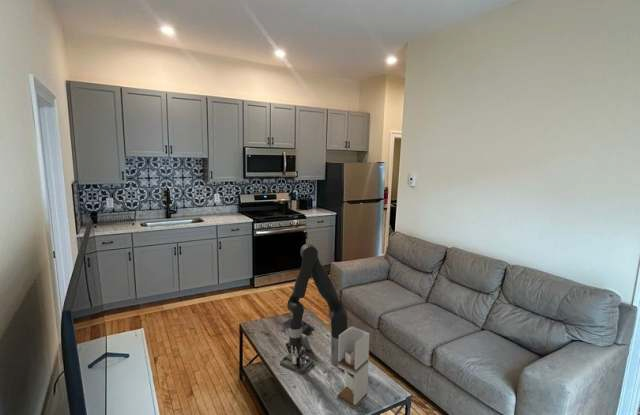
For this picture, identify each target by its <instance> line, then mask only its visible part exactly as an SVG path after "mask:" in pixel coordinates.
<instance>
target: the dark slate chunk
mask: <svg viewBox="0 0 640 415" xmlns="http://www.w3.org/2000/svg"><path fill="white" fill-rule="evenodd" d="M289 320H290V318H289V319H287V320H285V321H284V322H283V323H282V324H283V326H284V327H285V328H286V329H287V330H288V329H289ZM314 330H315V327H313V326H312V325H310V324H309V323H307V322H305V320H303V319H302V334H304V335H306V334H309V333H311V332H313V331H314Z"/></svg>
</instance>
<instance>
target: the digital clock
mask: <svg viewBox="0 0 640 415" xmlns="http://www.w3.org/2000/svg"><path fill="white" fill-rule="evenodd" d="M287 331H288V333H289V329H287ZM302 347H303V348H306V350H308V351H309V350H311V343H310V340H309V338H308V336H307V335H306V334H302Z"/></svg>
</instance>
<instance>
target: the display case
mask: <svg viewBox="0 0 640 415" xmlns="http://www.w3.org/2000/svg"><path fill="white" fill-rule="evenodd" d="M369 358H370V332H367V331H365V330H363V329H360V328H359V327H358V328H357V327H355V326H352V325H351V326H349V327H347V330H345V331H344V332H343V333H341V334H340V335H339V339H338V366H337V368H339V369H341V370H343V371H344V382H345V385H346V386H345V387H344V388H343V390H341V391H340V392H339V393H338V394H337V398H336V399H337V400H339V401H341V402H342V403H344V404H346V405H347V406H349V407H350V408H352V409H357V408H358V406H359V405H360V404H362V402H363V401H364V400H365V399H366V398H367V397H368V386H369V384H368V383H369V381H368V380H369Z"/></svg>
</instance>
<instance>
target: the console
mask: <svg viewBox="0 0 640 415" xmlns="http://www.w3.org/2000/svg"><path fill="white" fill-rule="evenodd" d="M314 363H315V359H314V358H311V357H310V356H309V355H305V353H304V354H303V356H302V357H301V358H300V361H299V362H298V363H297V364H296V365H295V364H293V363H292V355H291V353H288V354H287V355H284V356H283V357H282V359H281V360H280V361H279V365H281V366H282V367H284V368H286V369H290V370H292V371H294V372H296V373H299V374H301V375H304V373H306V372H307V371H308V370H309V368H311V366H313V365H314Z"/></svg>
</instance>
